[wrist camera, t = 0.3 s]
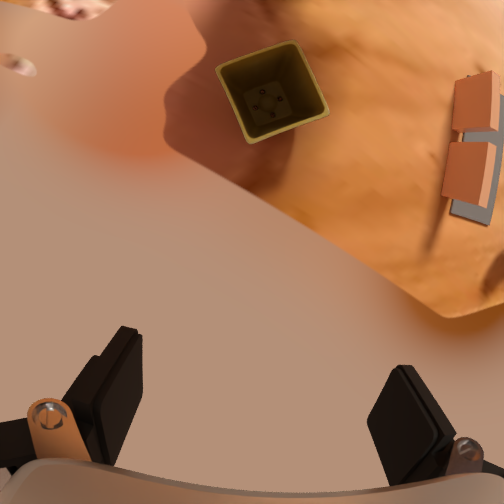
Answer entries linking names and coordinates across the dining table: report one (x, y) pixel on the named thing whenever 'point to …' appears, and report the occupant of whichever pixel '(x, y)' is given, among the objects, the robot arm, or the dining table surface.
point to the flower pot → (272, 90)
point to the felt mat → (498, 140)
